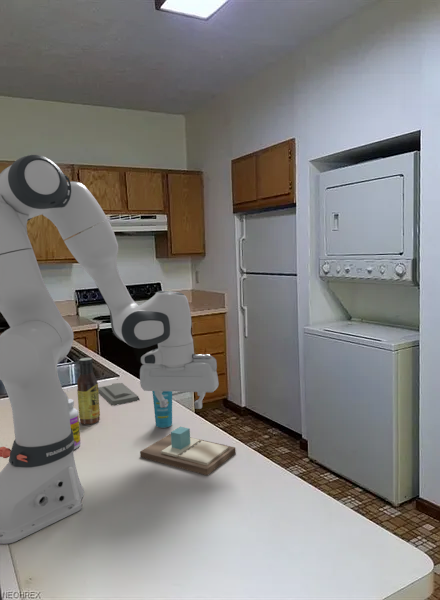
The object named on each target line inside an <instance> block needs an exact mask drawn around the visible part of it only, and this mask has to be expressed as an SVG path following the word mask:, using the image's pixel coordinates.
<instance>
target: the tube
mask: <svg viewBox="0 0 440 600" xmlns="http://www.w3.org/2000/svg"><path fill="white" fill-rule="evenodd" d="M151 392H152V399H153V411H154V418H155V420H154V421H155V427H156V428H161V429H164V428H170V427H171V426H172V425H173V391H163V392H162V395H163V397H164V398H165V399H168V402H167V403H168V406H167V407H166V408H165V407H160V401H159V400H158V399H157V397H156V396H155V391H151Z"/></svg>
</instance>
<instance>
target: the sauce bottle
mask: <svg viewBox="0 0 440 600" xmlns="http://www.w3.org/2000/svg"><path fill="white" fill-rule="evenodd" d="M93 363H94V362H93V358H92V357H82V358H80V359H79V360H78V365H79V370H80V371H79V373H80V374H79V376H78V378H77V382H76V385H77V392H76V393H77V405H78V407H77V408H78V415H79V424H81V425H93V424H96V423H98V422H99V421H100V417H101V412H100V409H101V408H100V395H99V394H100V393H99V392H98V387H99V383H98V379H97V378H96V376H95V374H94V369H93Z"/></svg>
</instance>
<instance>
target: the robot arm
mask: <svg viewBox="0 0 440 600" xmlns="http://www.w3.org/2000/svg"><path fill="white" fill-rule="evenodd" d="M41 215H42V216H43V217H45V218H46V219H48V220H50V222H51V223H52V224H53V225H54V226H55V227H56V229H57V230H58V233H59V234H60V237H61V238H62V240H63V242H64V244H65V246H66V247H67V249H68V251H69V252H70V253H71V255H72V257H73V258H74V259H75V260H76V261H77V263H78V264H79V265H80V267H82V269H84V271H85V272H87V274H88V275H89V276H90V277H91V279H92V280H93V281H94V283H95V285H96V287H97V289H98V290H99V293H100V294H101V296H102V298H103V300H104V301H105V304H106V305H107V307H108V308H107V309H108V311H109V315H110V318H109V319H110V326H111V330H112V332H113V335H114V336H115V337H116V338H117V339H119V340H120V341H122V342H124V343H126V344H127V345H128V346H130V347H132V348H135V349H145V348H149V347H151V346H152V347H153V346H156V345H157V348H155V349H152V350H150V351H147V352H146V353H145V354H143V355H142V356H141V357H140V363H141V364H142V365H141V366H140V369H139V383H140V384H139V385H140V388H141V389H142V390H143V391H146V392H152V391H155V396H156V397H157V399H158V400H159V401H160V407H165V408H166V407H167V406H168V403H167V402H168V399H165V398H164V397H163V395H162V392H163V391H172V392H179V393H181V392H182V393H186V392H187V393H188V392H189V393H196V394H197V397H199V398H198V399H197V400H196V399H195V401H194V402H193V404H194V410H195V409H197V410H198V409H199V410H200V409H202V408H203V399H204V397H205V396H206V393H214V391H216V390H217V389H218V388H219V385H220V384H219V376H218V372H217V369H218V364H217V359H216V358H215V357H214V356H212V355H211V354H207V353H206V354H202V353H201V354H198V353H197V354H196V353H195V350H194V348H195V347H194V339H193V336H192V329H191V328H192V314H191V309H190V304H189V300H188V297H187V296H186V294H184V293H182V292H179V291H173V290H159V291H156V292H155V294H154V295H153V296H152V297H150V298H149V299H148V300H146V301H145V302H143V303H141V304H140V305H139V304H138V303H137V302H136V301H135V300H134V299H133V298H132V296H131V295H130V292H129V290H128V289H127V287H126V284H125V282H124V280H123V279H122V276H121V274H120V272H119V270H118V269H119V268H118V263H117V261H118V259H117V258H118V254H119V243H118V240H117V236H116V235H115V232H114V229H113V227H112V225H111V223H110V221H109V219H108V217H107V215H106V214H105V212H104V210H103V208H102V206H101V205H100V204H99V202H98V200H97V199H96V198H95V196H94V195H93V194H92V192H91V191H90V190H89V189H88V188H87V187H86V185H84V184H83V183H82V182H78V181H70V178H69V177H68V175H66V174H65V173H63V171H62V170H61V168H60V167H59V166H58V165H57V164H56V163H55V162H54V161H52V160H51V159H49V158H48V157H46V156H43V155H40V154H30V155H29V154H28V155H24V156H22V157H20V158H18V159H16V160H14V162H13V163H11V164H10V165H9V166H8V167H6V168H4V169H3V170H2V171H1V172H0V313H1V314H2V316H3V318H4V319H5V321H6V322H7V324H8V326H9V328H8V329H6V330H4V331H3V332H2V333H1V334H0V381H1V382H2V384H3V385H4V386H3V387H4V388H5V391H6V393H7V396H8V399H9V402H10V407H11V413H12V422H13V430H14V440H13V443H12V445H11V448H9V447H6V446H0V458H3V459H8V462H7V464H6V465H5V466H4V468H2V469H1V471H0V545H1V544H2V545H3V544H4V545H5V544H13V543H15V542H19V540H21V539H24V538H25V537H28V536H30V535H32V534H34V533H36V532H38V531H40V530H43V529H44V528H46V527H49V526H51V525H52V524H54V523H57V522H58V521H60V520H63V519H64V518H67V517H69V516H71V515H73V514H75V513H77V512H79V511H80V510H82V509H83V506H82V505H83V504H82V499H83V497H84V495H85V490H84V488H83V486H82V483H81V480H80V476H79V473H78V469H77V466H76V465H77V464H76V460H75V454H74V450H75V449H74V436H73V431H72V430H71V426H70V414H69V402H68V399H69V397H68V394H67V393H66V392H65V391H64V389H63V387H62V384H61V380H60V378H59V374H58V364H59V363H60V362H61V361H63V360H64V359H65V358H66V357H67V355H68V354H69V352H70V351H71V348H72V346H73V344H74V343H73V342H74V339H75V338H74V337H75V336H74V335H75V334H74V331H73V329H72V326H71V325H70V323H69V322H68V321H67V320H66V319H64V317H63V315H62V314H61V312H60V309H59V308H58V306H57V305H56V303H55V301H54V299H53V297H52V296H51V293H50V292H49V290H48V288H47V285H46V284H45V281H44V279H43V275H42V273H41V269H40V267H39V262H38V261H37V257H36V254H35V251H34V249H33V246H32V244H31V241H30V238H29V235H28V234H29V233H28V230H27V229H28V226H27V224H28V222H29V221H30V220H31V219H33V218H35V217H38V216H41ZM73 449H74V450H73Z"/></svg>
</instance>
